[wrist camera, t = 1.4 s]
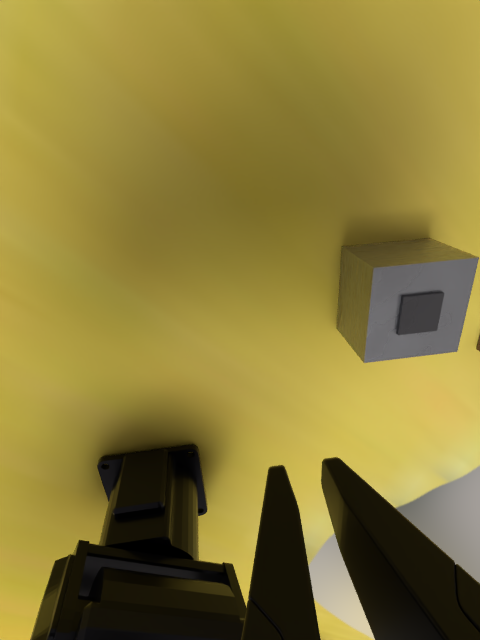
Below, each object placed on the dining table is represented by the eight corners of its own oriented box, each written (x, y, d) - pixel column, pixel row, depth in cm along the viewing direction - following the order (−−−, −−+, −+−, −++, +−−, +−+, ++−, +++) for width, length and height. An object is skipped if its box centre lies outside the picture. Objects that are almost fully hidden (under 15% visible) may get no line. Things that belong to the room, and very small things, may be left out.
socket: (414, 318, 22) (459, 353, 19) (335, 327, 22) (365, 365, 18) (428, 237, 20) (482, 258, 17) (340, 245, 20) (375, 269, 16)
